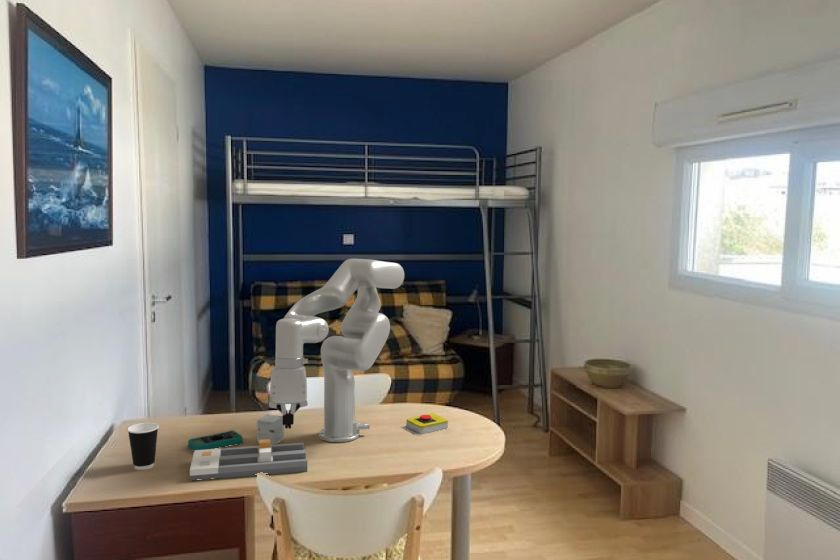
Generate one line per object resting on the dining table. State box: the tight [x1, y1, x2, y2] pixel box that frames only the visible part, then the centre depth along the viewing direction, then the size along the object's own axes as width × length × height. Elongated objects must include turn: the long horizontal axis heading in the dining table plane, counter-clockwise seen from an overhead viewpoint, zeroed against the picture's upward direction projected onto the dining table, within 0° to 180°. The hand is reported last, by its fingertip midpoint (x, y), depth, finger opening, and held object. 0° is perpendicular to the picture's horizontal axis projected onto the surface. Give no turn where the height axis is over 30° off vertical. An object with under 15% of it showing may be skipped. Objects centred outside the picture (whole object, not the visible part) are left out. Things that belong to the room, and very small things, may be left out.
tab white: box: [258, 448, 273, 463], centre depth 173 cm, size 4×4×4 cm
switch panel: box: [189, 442, 308, 481], centre depth 175 cm, size 30×14×3 cm, turn 105°
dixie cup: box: [126, 422, 160, 471], centre depth 174 cm, size 8×8×11 cm
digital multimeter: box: [187, 430, 244, 452], centre depth 191 cm, size 7×15×3 cm, turn 128°
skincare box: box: [256, 414, 285, 445], centre depth 195 cm, size 6×6×7 cm
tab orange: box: [257, 439, 272, 453], centre depth 179 cm, size 4×4×4 cm
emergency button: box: [402, 413, 449, 436], centre depth 210 cm, size 9×4×15 cm
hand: (287, 427), depth 180 cm, fingers closed
